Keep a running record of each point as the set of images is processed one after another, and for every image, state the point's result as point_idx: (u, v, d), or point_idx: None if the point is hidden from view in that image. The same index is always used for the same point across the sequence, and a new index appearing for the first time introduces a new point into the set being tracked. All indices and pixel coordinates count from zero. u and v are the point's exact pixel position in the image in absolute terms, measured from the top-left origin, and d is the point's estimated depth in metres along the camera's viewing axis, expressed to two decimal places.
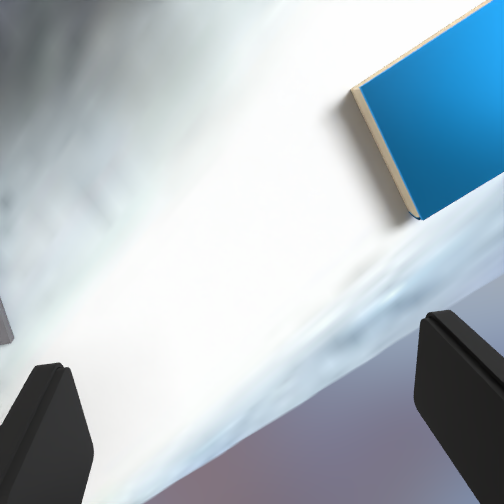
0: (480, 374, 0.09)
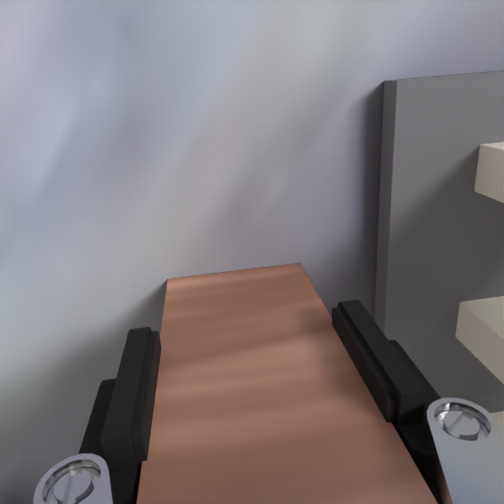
0: (365, 356, 0.10)
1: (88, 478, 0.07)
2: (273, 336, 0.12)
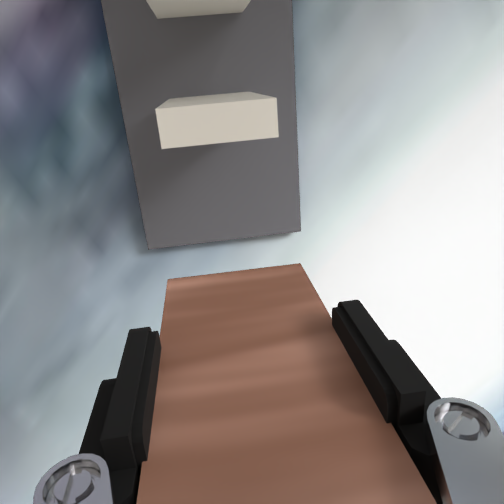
0: (366, 356, 0.10)
1: (88, 478, 0.07)
2: (273, 337, 0.12)
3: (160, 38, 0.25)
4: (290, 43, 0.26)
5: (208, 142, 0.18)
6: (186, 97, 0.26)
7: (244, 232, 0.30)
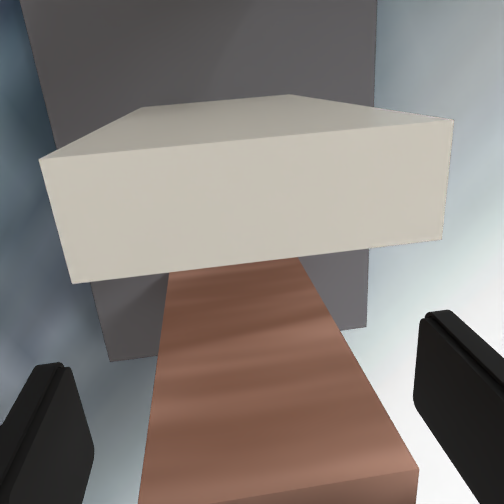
0: (479, 374, 0.09)
1: None
2: (270, 322, 0.12)
3: None
4: (371, 3, 0.14)
5: (224, 260, 0.06)
6: (173, 105, 0.14)
7: None
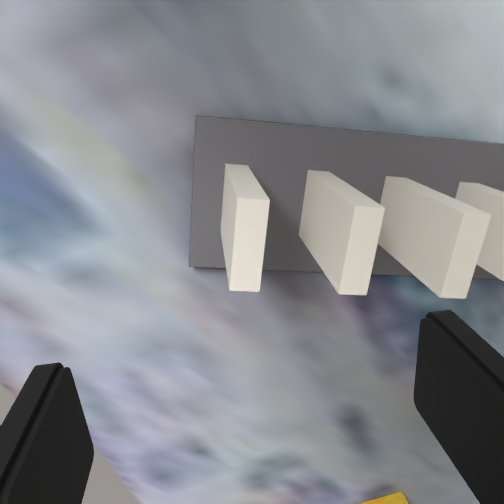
0: (481, 374, 0.09)
1: None
2: None
3: None
4: (438, 141, 0.31)
5: None
6: None
7: None
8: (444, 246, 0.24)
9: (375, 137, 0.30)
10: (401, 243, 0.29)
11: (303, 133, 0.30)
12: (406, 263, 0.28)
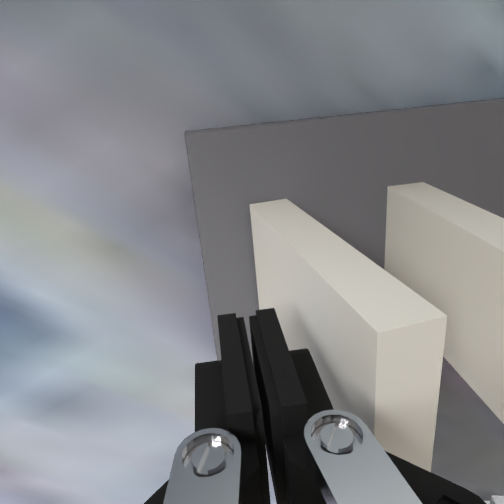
0: (262, 366, 0.09)
1: (221, 450, 0.08)
2: None
3: None
4: None
5: None
6: None
7: None
8: None
9: (497, 109, 0.17)
10: None
11: (373, 128, 0.17)
12: None
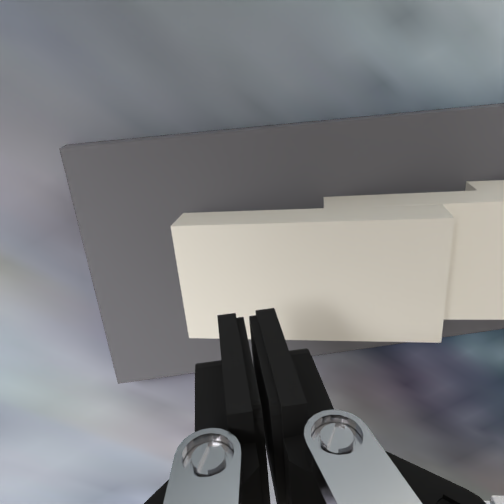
0: (262, 366, 0.09)
1: (222, 450, 0.08)
2: None
3: None
4: (502, 111, 0.17)
5: None
6: None
7: None
8: None
9: (388, 125, 0.17)
10: None
11: (259, 143, 0.17)
12: None
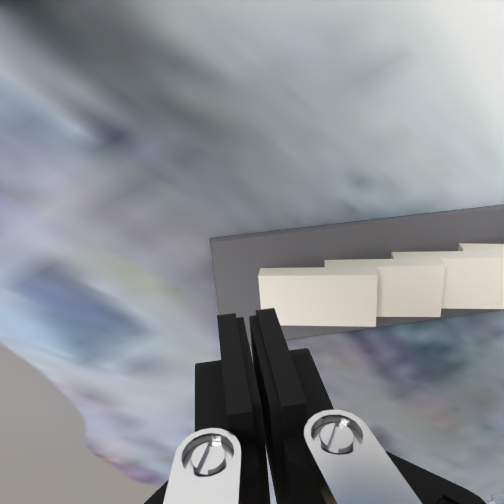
0: (262, 366, 0.09)
1: (221, 450, 0.08)
2: None
3: None
4: (406, 221, 0.38)
5: None
6: None
7: None
8: (501, 281, 0.37)
9: (353, 229, 0.38)
10: (443, 295, 0.38)
11: (295, 237, 0.37)
12: (456, 305, 0.38)
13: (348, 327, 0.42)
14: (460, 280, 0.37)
